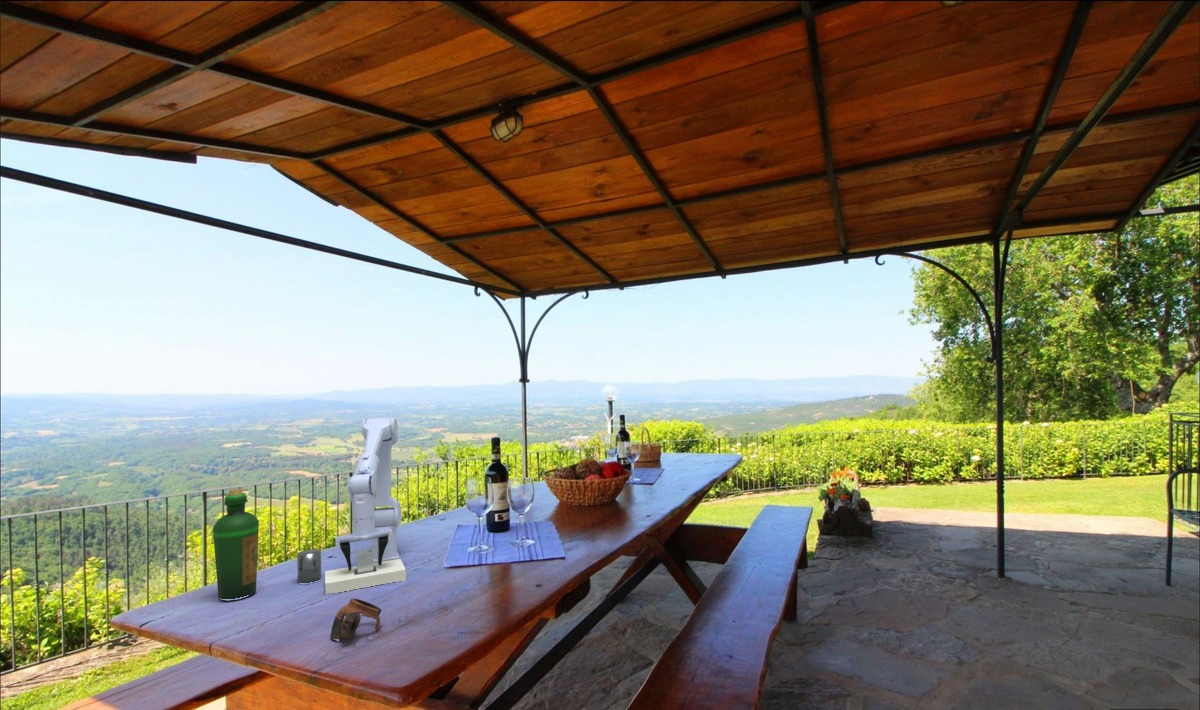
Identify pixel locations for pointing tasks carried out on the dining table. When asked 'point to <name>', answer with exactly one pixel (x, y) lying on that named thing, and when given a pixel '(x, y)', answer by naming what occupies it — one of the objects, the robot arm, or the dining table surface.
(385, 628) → the dining table surface
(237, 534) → the bottle
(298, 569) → the round dark peg
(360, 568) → the square steel peg
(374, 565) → the cream socket block
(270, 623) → the dining table surface
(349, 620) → the brown curved piece
